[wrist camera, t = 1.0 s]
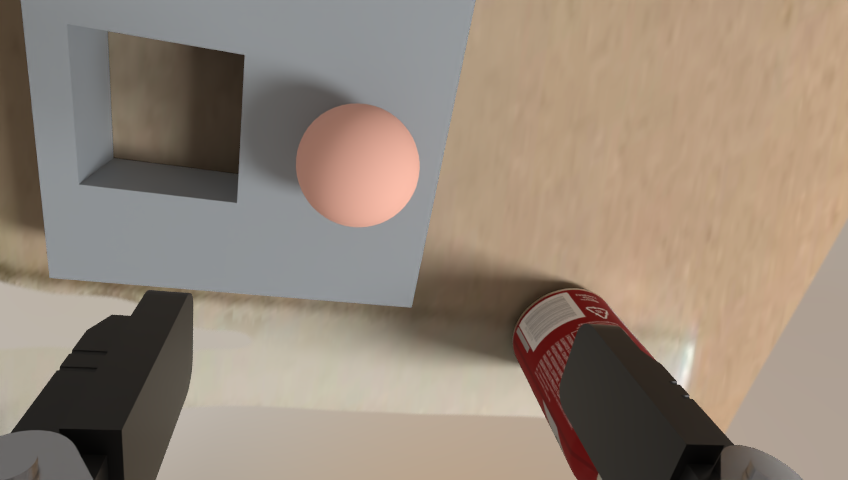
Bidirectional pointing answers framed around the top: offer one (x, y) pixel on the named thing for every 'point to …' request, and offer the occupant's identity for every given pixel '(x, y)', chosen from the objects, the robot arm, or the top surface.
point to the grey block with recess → (259, 144)
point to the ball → (357, 165)
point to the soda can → (560, 359)
